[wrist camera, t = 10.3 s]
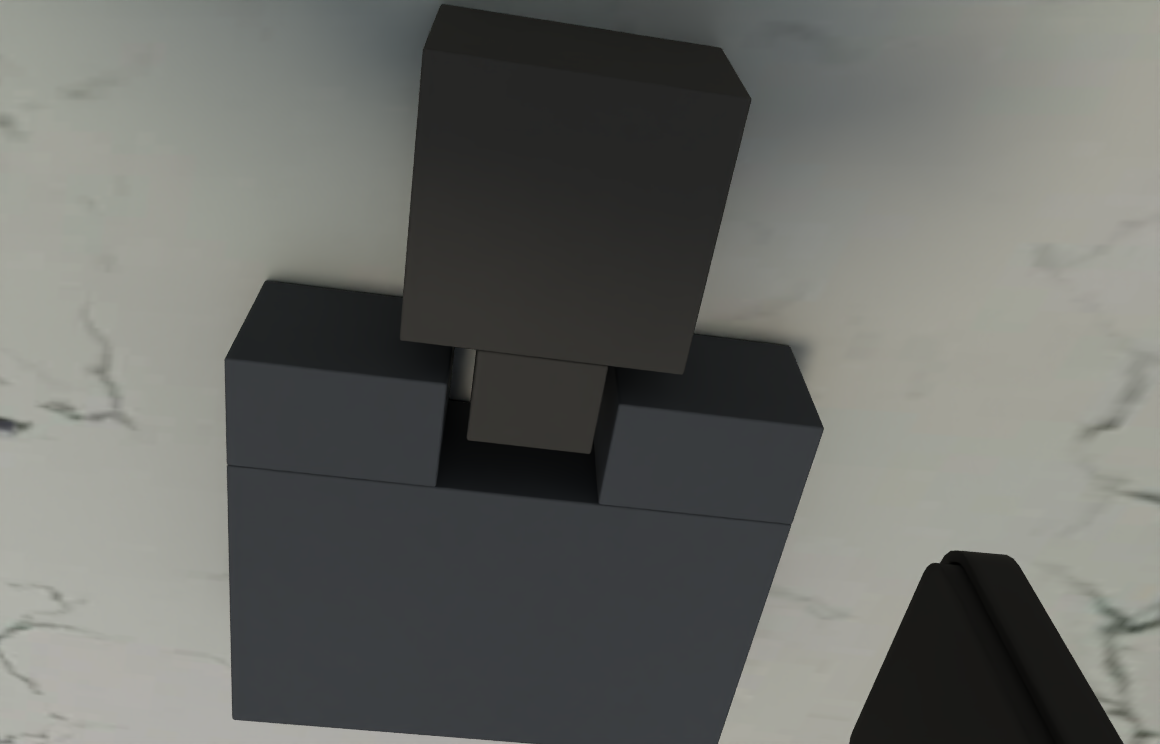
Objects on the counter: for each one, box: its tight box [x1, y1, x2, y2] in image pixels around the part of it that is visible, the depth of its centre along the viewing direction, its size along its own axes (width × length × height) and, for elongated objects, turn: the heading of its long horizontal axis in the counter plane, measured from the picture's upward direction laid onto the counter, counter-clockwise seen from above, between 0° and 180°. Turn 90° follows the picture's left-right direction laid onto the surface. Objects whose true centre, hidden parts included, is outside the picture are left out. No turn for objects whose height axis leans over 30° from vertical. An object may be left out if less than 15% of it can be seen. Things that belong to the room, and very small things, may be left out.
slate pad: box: [225, 281, 824, 744], centre depth 29 cm, size 12×14×4 cm
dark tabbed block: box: [400, 4, 751, 454], centre depth 24 cm, size 9×6×4 cm
